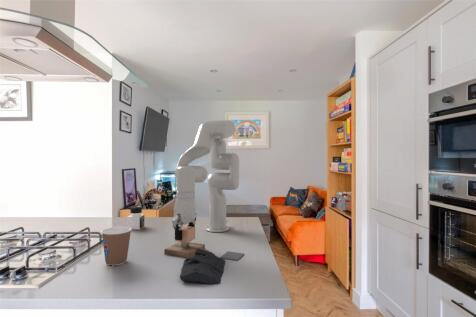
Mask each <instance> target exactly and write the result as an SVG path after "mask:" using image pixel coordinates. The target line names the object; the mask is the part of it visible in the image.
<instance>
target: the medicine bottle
mask: <svg viewBox="0 0 476 317" xmlns="http://www.w3.org/2000/svg"><path fill="white" fill-rule="evenodd" d="M129 210H130V212H129V214H130V215H128V216H127V219H126V223H127V224H126V227H130V228H131V229H132V231H133V230H138V231H139V230H142V229H143V228H145V213H144V214H143V213H142V212H143V207H142V206H139V205H138V206H135V205H134V206H132V207H130V208H129Z"/></svg>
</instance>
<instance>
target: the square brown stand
mask: <svg viewBox="0 0 476 317" xmlns="http://www.w3.org/2000/svg"><path fill="white" fill-rule="evenodd" d="M198 249H202V250H205V249H206V244H205V243H199V242H198V243H196V242H192V241H190V242H188V243H186V242H178V241H177V242H176V243H175V244H172V245H170V246H168V247H166V248H164V250H163V252H164V255H167V256H168V255H169V256H173V257H174V256H175V257H181V258H185V259H187V258H193V257H194V255H195V252H196V251H197V250H198Z"/></svg>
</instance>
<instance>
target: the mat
mask: <svg viewBox="0 0 476 317" xmlns="http://www.w3.org/2000/svg"><path fill="white" fill-rule="evenodd" d="M244 255H245V253H243V252H237V251H231V250H228V251H226V252H225V253H223V254H222V255H221V256H220V257H219V258H222V259H224V260H230V261H236V262H237V261H239V260H240V259H241V258H242V257H243V256H244Z"/></svg>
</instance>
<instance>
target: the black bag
mask: <svg viewBox="0 0 476 317" xmlns="http://www.w3.org/2000/svg"><path fill="white" fill-rule="evenodd" d="M225 265H226V259H222V258H220V257H218V256H217V255H216V254H215V253H214V252H212V251H209V250H205V249H204V250H202V249H198V250H197V251H196V252H195V255H194V256H193V257H191V258H185V259H184V262H183V265H182V267H181V271H180V275H179V279H180V280H181V281H182V282H188V283H189V282H190V283H191V282H192V283H200V284H207V285H217V284H220V283H221V281H222V278H223V274H224V270H225Z"/></svg>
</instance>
